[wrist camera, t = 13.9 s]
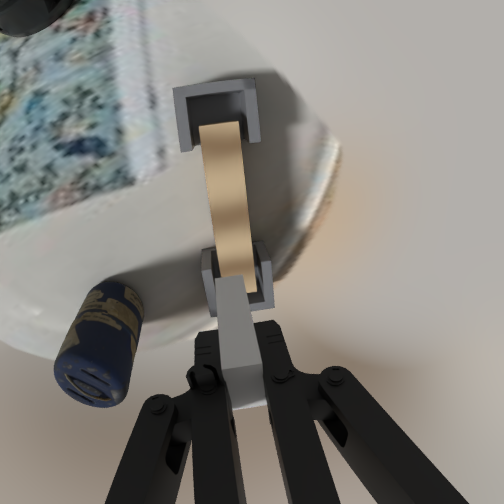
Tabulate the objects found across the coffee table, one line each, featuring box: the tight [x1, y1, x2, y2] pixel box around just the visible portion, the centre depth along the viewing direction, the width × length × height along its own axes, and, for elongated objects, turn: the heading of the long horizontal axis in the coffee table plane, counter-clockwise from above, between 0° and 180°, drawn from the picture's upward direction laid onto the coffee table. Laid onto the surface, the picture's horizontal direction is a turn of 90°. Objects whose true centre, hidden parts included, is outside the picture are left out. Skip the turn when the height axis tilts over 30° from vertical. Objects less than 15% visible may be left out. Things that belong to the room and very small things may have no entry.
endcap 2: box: [201, 241, 275, 317], centre depth 41 cm, size 7×8×6 cm
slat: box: [199, 120, 257, 293], centre depth 36 cm, size 20×4×6 cm, turn 6°
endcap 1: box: [173, 78, 261, 152], centre depth 32 cm, size 7×8×6 cm
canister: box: [54, 282, 144, 408], centre depth 36 cm, size 10×10×18 cm
